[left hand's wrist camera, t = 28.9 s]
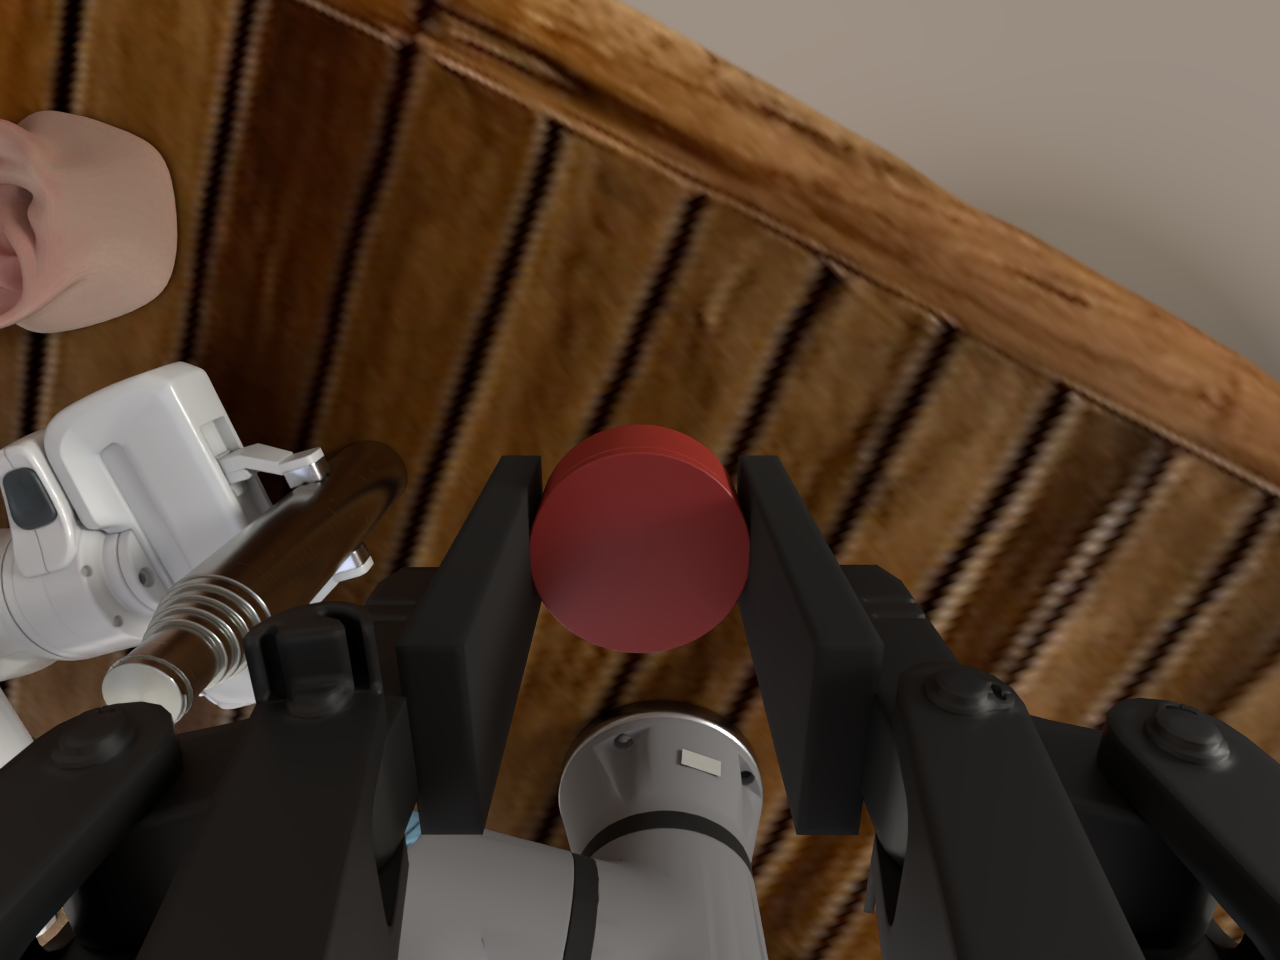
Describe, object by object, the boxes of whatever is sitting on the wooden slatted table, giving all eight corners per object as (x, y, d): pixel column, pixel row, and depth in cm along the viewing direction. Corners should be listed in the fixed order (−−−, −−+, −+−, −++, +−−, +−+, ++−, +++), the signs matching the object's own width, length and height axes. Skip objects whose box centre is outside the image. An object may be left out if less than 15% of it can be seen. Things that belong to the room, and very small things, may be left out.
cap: (615, 636, 15) (611, 687, 14) (500, 493, 14) (481, 530, 12) (775, 543, 14) (792, 585, 13) (668, 382, 13) (672, 407, 12)
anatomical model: (94, 84, 35) (174, 322, 39) (146, 97, 39) (215, 312, 43) (-164, 120, 35) (-59, 350, 39) (-88, 129, 39) (2, 339, 43)
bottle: (336, 501, 47) (82, 741, 26) (336, 435, 45) (65, 633, 24) (406, 510, 47) (212, 756, 26) (408, 445, 46) (204, 649, 24)
